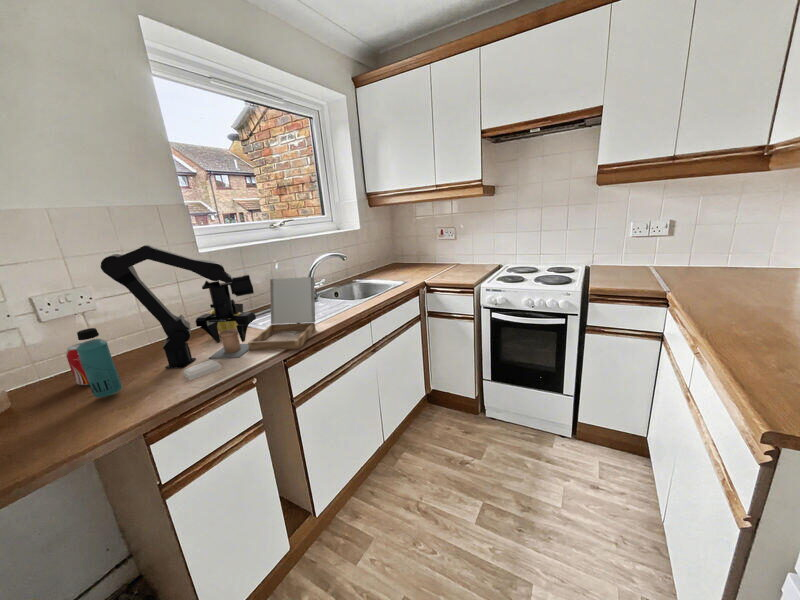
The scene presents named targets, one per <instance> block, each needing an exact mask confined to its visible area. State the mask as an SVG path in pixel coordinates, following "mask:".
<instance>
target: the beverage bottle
mask: <svg viewBox="0 0 800 600" xmlns="http://www.w3.org/2000/svg"><path fill="white" fill-rule="evenodd" d="M76 336H77V340H79V341H83V342H80V343H81V344H80V345H79V346H78V348H77V352H78V354H79V357H80V360H81V365H82V367H83V369H84V372H85V373H86V376H87V379H88V381H89V383H88V384H89V385H88V387H89V389H90V390H91V393H92V395H93V396H94V397H95V398H105V397H108V396H111V395H114V394H116V393H118V392H120V391H121V390H122V389H123V385H122V384H123V383H122V381H121V379H120V375H119V372H118V371H117V367H116V366H115V363H114V360H113V357H112V353H111V351H110V348H109V345H108V342H107V340H104V339H101V338H96V337H99V336H100V334H99V332H98V330H97V328H95V327H91V328H90V327H89V328H85V329H81V330H79V331H77V332H76ZM85 340H86V341H85Z"/></svg>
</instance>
